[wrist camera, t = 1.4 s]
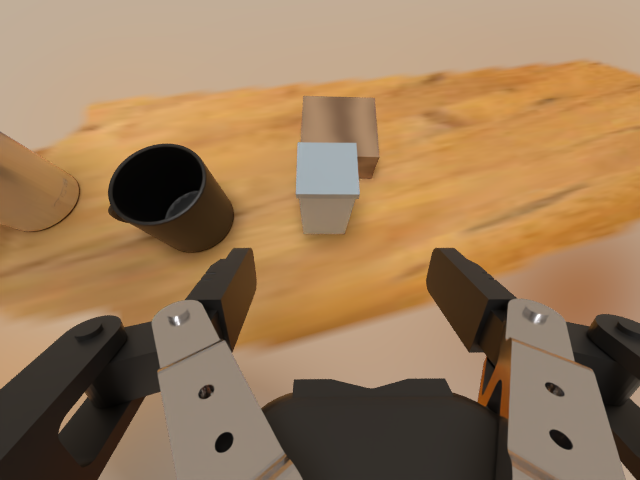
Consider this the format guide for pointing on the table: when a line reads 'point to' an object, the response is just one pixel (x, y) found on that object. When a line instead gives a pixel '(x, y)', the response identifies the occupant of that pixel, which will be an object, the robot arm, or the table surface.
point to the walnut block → (343, 126)
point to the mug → (171, 197)
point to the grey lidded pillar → (326, 185)
